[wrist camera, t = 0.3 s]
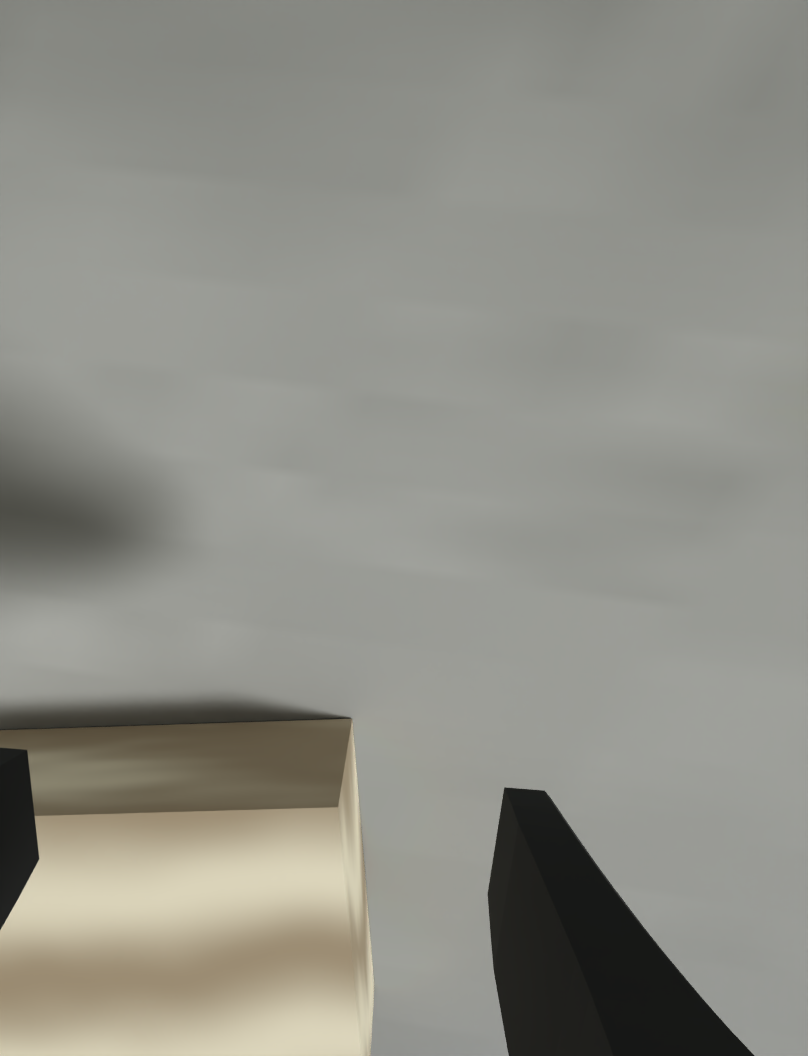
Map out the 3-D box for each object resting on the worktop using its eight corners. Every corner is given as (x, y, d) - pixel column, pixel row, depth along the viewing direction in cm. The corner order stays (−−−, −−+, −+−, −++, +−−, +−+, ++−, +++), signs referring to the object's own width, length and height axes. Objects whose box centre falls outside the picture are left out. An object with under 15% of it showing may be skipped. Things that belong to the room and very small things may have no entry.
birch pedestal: (374, 987, 23) (366, 1112, 20) (68, 993, 24) (2, 1118, 20) (352, 718, 20) (337, 807, 16) (-6, 730, 20) (-103, 820, 16)
